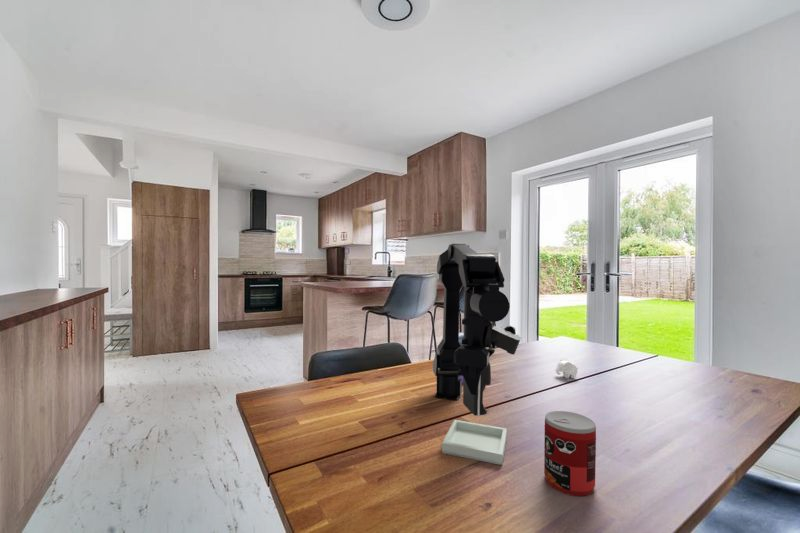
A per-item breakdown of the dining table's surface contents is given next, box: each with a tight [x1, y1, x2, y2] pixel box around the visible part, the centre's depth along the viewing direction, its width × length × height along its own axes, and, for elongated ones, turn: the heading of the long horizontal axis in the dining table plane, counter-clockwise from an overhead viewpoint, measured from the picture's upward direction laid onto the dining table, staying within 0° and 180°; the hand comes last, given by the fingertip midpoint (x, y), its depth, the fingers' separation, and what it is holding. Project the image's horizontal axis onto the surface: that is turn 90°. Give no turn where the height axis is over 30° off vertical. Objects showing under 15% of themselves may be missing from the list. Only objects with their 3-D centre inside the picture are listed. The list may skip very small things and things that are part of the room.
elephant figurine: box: [555, 357, 580, 380], centre depth 121 cm, size 7×8×6 cm
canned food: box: [543, 410, 597, 497], centre depth 61 cm, size 8×8×11 cm
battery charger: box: [462, 362, 492, 417], centre depth 74 cm, size 7×4×11 cm, turn 11°
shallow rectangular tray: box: [441, 419, 508, 466], centre depth 73 cm, size 12×12×2 cm
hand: (476, 388), depth 74 cm, fingers closed on battery charger, 7 cm apart
